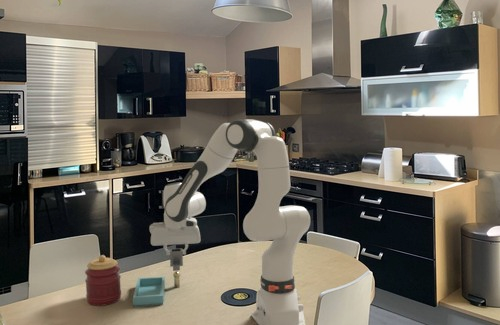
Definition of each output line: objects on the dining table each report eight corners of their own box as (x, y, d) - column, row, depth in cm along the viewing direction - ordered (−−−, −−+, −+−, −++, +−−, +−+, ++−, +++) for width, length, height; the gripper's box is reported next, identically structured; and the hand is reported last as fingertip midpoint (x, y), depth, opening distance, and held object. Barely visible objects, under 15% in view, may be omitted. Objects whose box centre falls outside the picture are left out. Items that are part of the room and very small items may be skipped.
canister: (119, 290, 186) (118, 248, 184) (123, 303, 174) (121, 258, 172) (85, 295, 181) (83, 252, 179) (87, 308, 169) (84, 262, 167)
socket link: (170, 263, 190) (170, 249, 190) (182, 262, 191) (182, 248, 190) (170, 271, 179) (169, 256, 179) (182, 270, 180) (182, 255, 180)
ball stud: (180, 287, 188) (180, 272, 187) (173, 288, 188) (172, 272, 187) (180, 285, 191) (180, 270, 190) (173, 285, 190) (173, 270, 190)
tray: (163, 304, 172) (162, 295, 171) (133, 306, 170) (132, 297, 170) (165, 284, 191) (164, 276, 191) (138, 286, 190) (138, 278, 189)
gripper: (148, 224, 181) (150, 258, 183) (200, 222, 184) (201, 255, 186) (149, 221, 187) (151, 253, 189) (199, 218, 190) (200, 250, 192)
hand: (176, 254), depth 187 cm, fingers closed on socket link, 5 cm apart
